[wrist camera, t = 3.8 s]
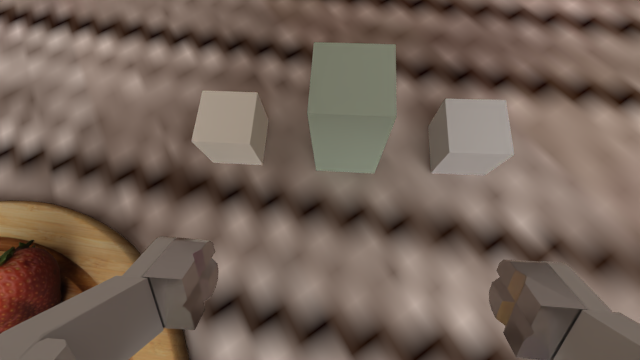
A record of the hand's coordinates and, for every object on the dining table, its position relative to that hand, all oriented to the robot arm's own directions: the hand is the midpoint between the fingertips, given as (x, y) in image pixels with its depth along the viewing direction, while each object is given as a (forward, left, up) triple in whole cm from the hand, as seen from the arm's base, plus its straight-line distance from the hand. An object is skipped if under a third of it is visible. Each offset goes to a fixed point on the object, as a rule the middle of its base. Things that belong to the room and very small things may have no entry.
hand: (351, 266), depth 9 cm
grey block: (-11, -7, -13) cm, 18 cm away
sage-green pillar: (-3, -9, -13) cm, 16 cm away
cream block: (+5, -12, -13) cm, 18 cm away
